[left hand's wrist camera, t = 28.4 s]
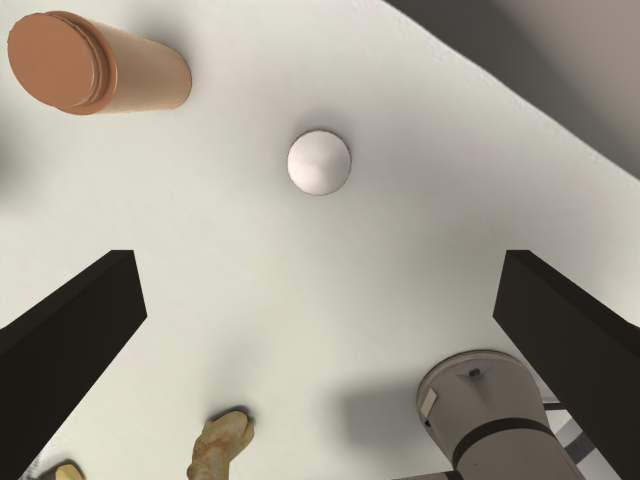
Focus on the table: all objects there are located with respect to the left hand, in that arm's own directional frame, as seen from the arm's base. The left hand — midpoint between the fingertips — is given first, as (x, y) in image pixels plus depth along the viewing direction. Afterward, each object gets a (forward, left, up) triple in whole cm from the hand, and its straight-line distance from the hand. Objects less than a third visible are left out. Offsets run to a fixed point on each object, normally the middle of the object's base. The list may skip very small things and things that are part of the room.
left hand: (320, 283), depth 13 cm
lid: (0, 0, -24) cm, 24 cm away
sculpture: (-6, +37, -25) cm, 46 cm away
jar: (+17, 0, -25) cm, 30 cm away
